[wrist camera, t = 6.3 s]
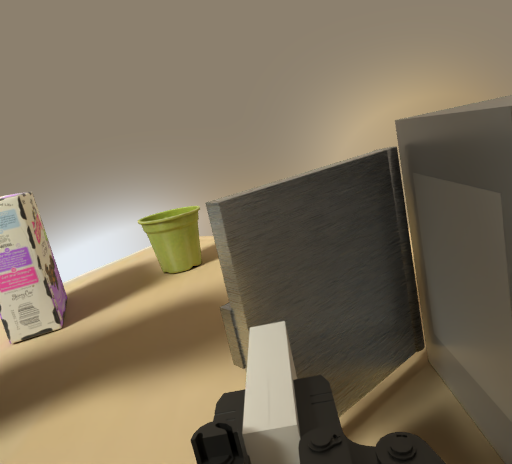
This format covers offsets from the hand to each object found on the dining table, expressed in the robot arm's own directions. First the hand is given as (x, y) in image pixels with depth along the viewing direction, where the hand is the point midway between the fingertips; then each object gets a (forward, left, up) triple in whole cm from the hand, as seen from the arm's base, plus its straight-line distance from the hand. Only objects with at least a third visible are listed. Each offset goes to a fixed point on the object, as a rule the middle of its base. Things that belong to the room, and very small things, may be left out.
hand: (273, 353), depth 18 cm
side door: (-4, +6, -6) cm, 9 cm away
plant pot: (-49, +6, -8) cm, 50 cm away
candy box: (-45, -14, -8) cm, 48 cm away
